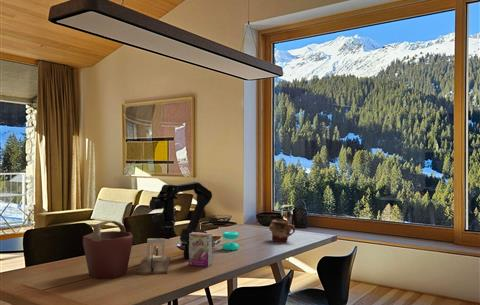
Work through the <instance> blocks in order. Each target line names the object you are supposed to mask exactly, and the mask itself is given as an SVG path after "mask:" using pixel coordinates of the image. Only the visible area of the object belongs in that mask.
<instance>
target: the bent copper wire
mask: <svg viewBox="0 0 480 305" xmlns="http://www.w3.org/2000/svg"><path fill="white" fill-rule="evenodd" d="M152 250H153V251H152V254H151V256H152V257H151V271H154V256H159V245H155V246H153V249H152Z"/></svg>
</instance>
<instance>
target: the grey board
mask: <svg viewBox="0 0 480 305" xmlns="http://www.w3.org/2000/svg"><path fill="white" fill-rule="evenodd" d="M170 262H171V256H169V255H168V256H167V255H165V261H154V271H151V261H147V256H144V257H143V258H142V261H141V263H140V265H139V267H138V269H137V271H136V273H137V274H136V275H158V274H159V275H160V274H161V275H162V274H165V275H167V274H168V270H169V267H170Z"/></svg>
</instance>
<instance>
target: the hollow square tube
mask: <svg viewBox="0 0 480 305" xmlns="http://www.w3.org/2000/svg"><path fill="white" fill-rule="evenodd" d="M146 241H147V242H146V243H147V244H146V245H147V246H146V248H147V249H146V250H147V255H146V257H147V261H151V257H152V251H151V250H152V245H151V244H161V255H158V256H156V255H155V256H154V261H165V256H166V238H163V237H162V238H161V237H160V238H147V240H146Z"/></svg>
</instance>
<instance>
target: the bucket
mask: <svg viewBox="0 0 480 305" xmlns="http://www.w3.org/2000/svg"><path fill="white" fill-rule="evenodd" d="M110 223H111V224H114V225H115V226H117V227H118V229H119V231H118V230H117V231H116V230H110V231H109V230H108V231H101V227H102V226H105V225H107V224H110ZM92 227H93V232H91V233H89V234H86V235H83V236H82V245H83V250H84V256H85V260H86V266H87V270H88V275H89V277H91V278H93V279H95V280H112V279H113V280H114V279H118V278H120V277H124V276H126V275H127V272H128V268H129V267H128V266H129V263H130V262H129V261H130V257H131V253H132V247H133V242H134V241H133V237H134V236H133V234H132V232H130V231H126V228H125V226H124V224H122V223H120V222H118V221H116V220H107V221H106V220H105V221H101V222H100V223H97V224H95V225H93V226H92Z"/></svg>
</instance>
